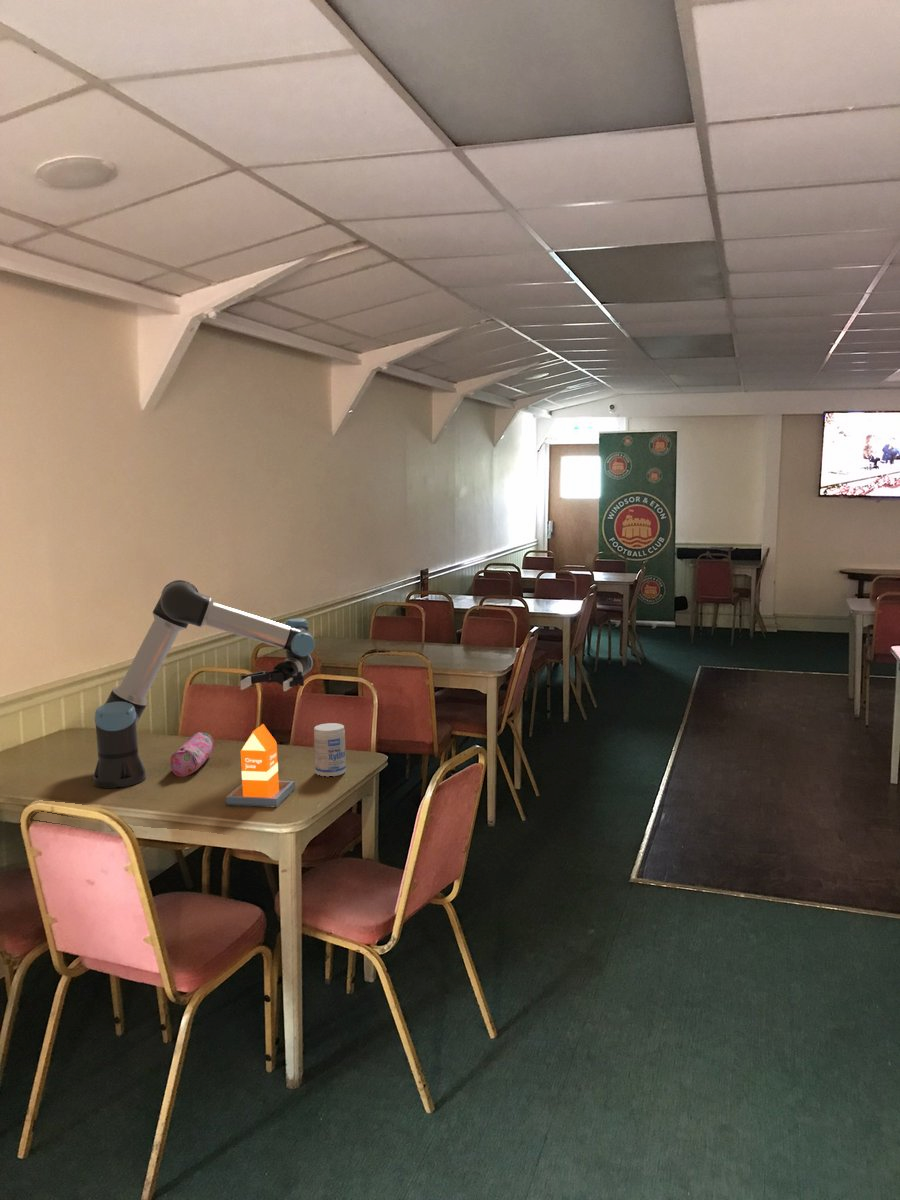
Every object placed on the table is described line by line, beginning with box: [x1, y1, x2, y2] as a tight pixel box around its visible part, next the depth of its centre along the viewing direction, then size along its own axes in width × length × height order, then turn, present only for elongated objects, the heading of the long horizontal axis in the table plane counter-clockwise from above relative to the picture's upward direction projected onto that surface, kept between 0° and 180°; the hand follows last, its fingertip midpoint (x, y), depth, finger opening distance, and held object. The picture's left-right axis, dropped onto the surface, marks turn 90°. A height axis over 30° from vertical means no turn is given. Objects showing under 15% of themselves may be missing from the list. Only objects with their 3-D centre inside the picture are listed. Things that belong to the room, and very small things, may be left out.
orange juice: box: [240, 723, 280, 797], centre depth 264 cm, size 8×9×20 cm
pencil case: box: [169, 731, 215, 777], centre depth 295 cm, size 21×9×9 cm, turn 178°
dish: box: [225, 780, 296, 808], centre depth 265 cm, size 15×15×2 cm
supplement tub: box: [313, 722, 347, 778], centre depth 285 cm, size 10×10×15 cm
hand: (262, 686), depth 277 cm, fingers open, 13 cm apart
